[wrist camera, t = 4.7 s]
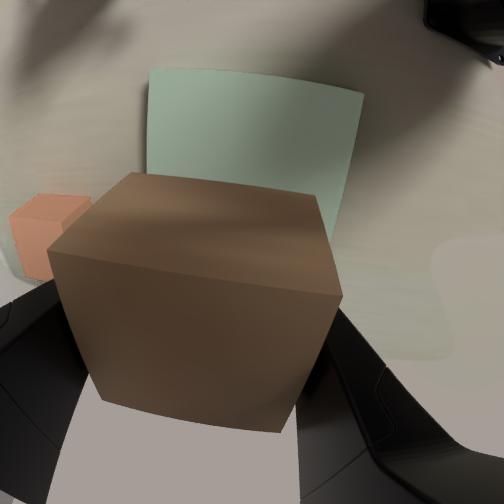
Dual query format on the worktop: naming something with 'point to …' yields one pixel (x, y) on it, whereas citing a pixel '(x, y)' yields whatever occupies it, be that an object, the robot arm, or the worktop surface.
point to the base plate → (253, 132)
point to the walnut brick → (199, 297)
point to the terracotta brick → (43, 229)
